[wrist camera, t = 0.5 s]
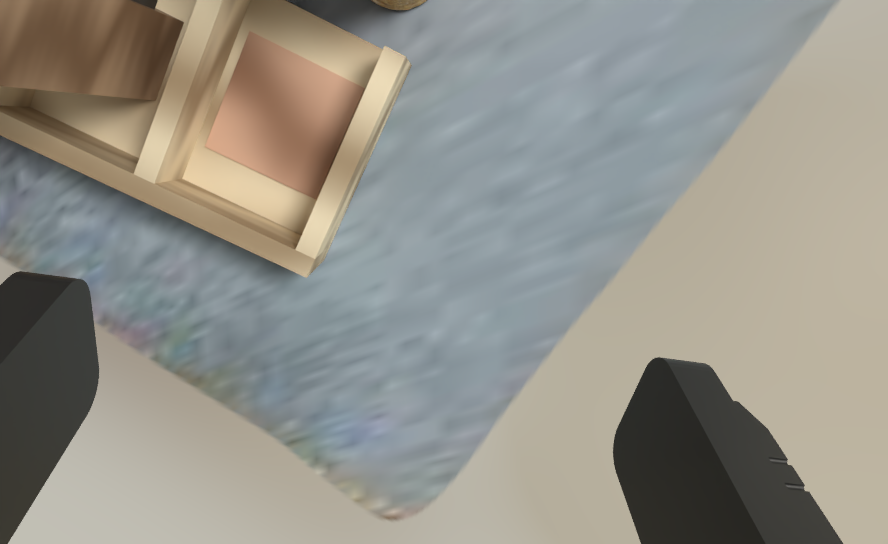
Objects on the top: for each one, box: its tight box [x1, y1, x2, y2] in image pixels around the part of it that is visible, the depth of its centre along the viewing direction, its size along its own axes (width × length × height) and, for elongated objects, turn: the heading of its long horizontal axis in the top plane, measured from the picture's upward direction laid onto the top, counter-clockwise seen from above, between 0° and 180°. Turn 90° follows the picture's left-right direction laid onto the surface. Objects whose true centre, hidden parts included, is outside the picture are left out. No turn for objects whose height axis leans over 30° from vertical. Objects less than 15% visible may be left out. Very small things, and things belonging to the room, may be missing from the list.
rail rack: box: [0, 0, 412, 278], centre depth 25 cm, size 11×25×13 cm, turn 64°
